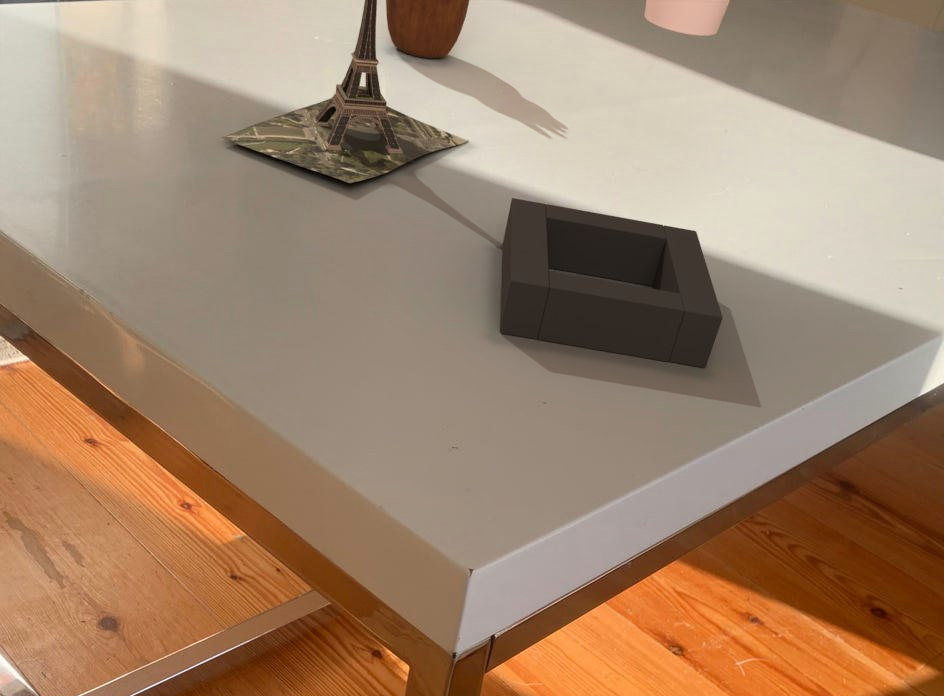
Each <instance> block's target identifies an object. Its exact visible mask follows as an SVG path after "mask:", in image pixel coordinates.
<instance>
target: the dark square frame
mask: <svg viewBox="0 0 944 696" xmlns="http://www.w3.org/2000/svg"><path fill="white" fill-rule="evenodd" d="M503 235H504V236H503V240H502V246H501V247H502V248H501V249H502V250H501V254H502V255H501V278H500V279H501V280H500V281H501V283H500V284H501V285H500V316H499V317H500V318H499V333H500V334H503V335H509V336H515V337H520V338H528V339H532V340H533V339H534V340H538V341H543V342H550V343H556V344H560V345H561V344H562V345H566V346H567V345H568V346H574V347H579V348H586V349H591V350H595V351H596V350H597V351H601V352H609V353H614V354H620V355H626V356H632V357H637V358H644V359H648V360H649V359H650V360H654V361H655V360H656V361H661V362H668V363H674V364H680V365H686V366H690V367H691V366H693V367H698V368H705V369H706V367H707V365H708V362H709V359H710V356H711V354H712V353H711V352H712V350H713V347H714V344H715V341H716V339H717V336H718V333H719V330H720V327H721V325H722V321H723V318H724V317H723V313H722V310H721V307H720V305H719V301H718V297H717V295H716V291H715V288H714V285H713V281H712V279H711V275H710V271H709V268H708V265H707V262H706V258H705V256H704V253H703V249H702V246H701V242H700V239H699V236H698V232H697V231H696V230H692V229H687V228H683V227H676V226H672V225H671V226H670V225H663V224H660V223H655V222H648V221H644V220H638V219H632V218H627V217H620V216H615V215H609V214H605V213H599V212H593V211H587V210H582V209H578V208H577V209H576V208H571V207H565V206H560V205H556V204H555V205H554V204H549V203H546V204H545V203H543V202H537V201H532V200H526V199H520V198H514V197H512V198H511V200H510V205H509V211H508V216H507V221H506V226H505V231H504V234H503ZM550 269H552V270H550ZM553 270H559V271H565V272H568V273H565V272H559V271H553ZM571 273H575V274H571ZM576 274H580V275H576ZM581 274H582V275H586V276H581ZM588 276H592V277H588ZM594 277H598V278H594ZM599 278H604V279H599ZM605 279H609V280H605ZM610 280H615V281H610ZM617 281H619V282H617ZM620 281H621V282H626V283H621V282H620ZM628 283H633V284H634V285H633V284H628ZM635 284H638V285H643V286H638V285H635ZM645 286H650V287H652V288H650V287H645Z"/></svg>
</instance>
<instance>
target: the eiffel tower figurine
mask: <svg viewBox="0 0 944 696" xmlns="http://www.w3.org/2000/svg"><path fill="white" fill-rule="evenodd" d="M362 10H363V11H362V14H361V15H362V16H361V21H360V27H359V31H358V36H357V40H356V44H355V48H354V51H353V52H351V54H350V56H352V59H351V61H350V64H349V66H348V69H347V71H346V73H345V76H344V78H343V80H342V82H341V84H338V83H337V84H335V93H334V94H333V95H332V97H331V98H328V99H325V100H322V101H320V102H316V103H314V104H311V105H307V106H304V107H301V108H298V109H295V110H292V111H288V112H286V113H283V114H280V115H277V116H275V117H272V118H269V119H266V120H264V121H261V122H258V123H255V124H253V125H249V126H247V127H245V128H243V129H240V130H237V131H235V132H232V133H230V134H227V135H223V136H221V137H220V138H221V139H223V140H226V141H229V142H232V143H234V144H236V145H239V146H242V147H245V148H248V149H251V150H253V151H256V152H258V153H261V154H264V155H267V156H270V157H273V158H275V159H278V160H282V161H284V162H287V163H291V164H293V165H296V166H299V167H301V168H305V169H307V170H311V171H314V172H318V173H320V174H323V175H326V176H329V177H332V178H334V179H338V180H340V181H343V182H344V183H347V184H352V183H356V182H357V183H358V182H361V181H365V180H368V179H372V178H377V177H378V176H381V175H384V174H387V173H390V172H392V171H393V170H395V169H397V168H399V167H401V166H404V165H405V164H406V163H407V164H408V162H409V163H414V160H415V159H417V158H420V157H422V156H424V155H427V154H430V153H433V152H436V151H439V150H443V149H447V148H450V147H454V146H459V145H461V144H465V143H468V142H469V140H468V139H465V138H462V137H460V136H458V135H455V134H453V133H450V132H448V131H445V130H442V129H440V128H437V127H435V126H433V125H430V124H428V123H425V122H423V121H420V120H418V119H416V118H414V117H411V116H409V115H407V114H405V113H403V112H400V111H399V110H396V109H394V108H392V107H390V106H388V105H387V103H388V102H387V100H386V99H385V97H384V96H383V93H382V92H381V86H380V80H379V79H380V78H379V72H378V65H379V64H380V61H379V60H378V58H377V49H376V48H377V47H376V46H377V11H378V0H364V3H363V9H362ZM363 73H364V74H365V86H363V85H361V79H362V75H363Z"/></svg>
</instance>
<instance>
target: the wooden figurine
mask: <svg viewBox="0 0 944 696" xmlns="http://www.w3.org/2000/svg"><path fill="white" fill-rule="evenodd" d="M469 5H470V0H385V8H386V9H385V11H386V22H387V30H388V33H389V37H390V40H391V42H392V44H393V46H394V47H396V48H397V49H398V50H400V51H402V52H403V53H406V54H408V55H411V56H413V57H417V58H423V59H439V58H442V57H443V58H444V57H446V56H447V55H448V54H449V53H450V52H451V51H452V50H453V48H454V46H455V45H456V43H457V42H458V39H459V37H460V34H461V32H462V30H463V27H464V23H465V21H466V17H467V13H468V9H469Z"/></svg>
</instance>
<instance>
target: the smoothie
mask: <svg viewBox="0 0 944 696" xmlns="http://www.w3.org/2000/svg"><path fill="white" fill-rule="evenodd" d="M730 2H731V0H646V1H645V9H644V18H645V20H647V21H648V22H650V23H652V24H653V25H655V26H657V27H660V28H663V29H665V30H668V31H672V32H676V33H680V34H686V35H692V36H702V37H703V36H708V37H709V36H714V35H716V34H717V33H718V31H719V28H720V26H721V24H722V21H723V19H724V17H725V14H726V12H727V9H728V6H729V4H730Z"/></svg>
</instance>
